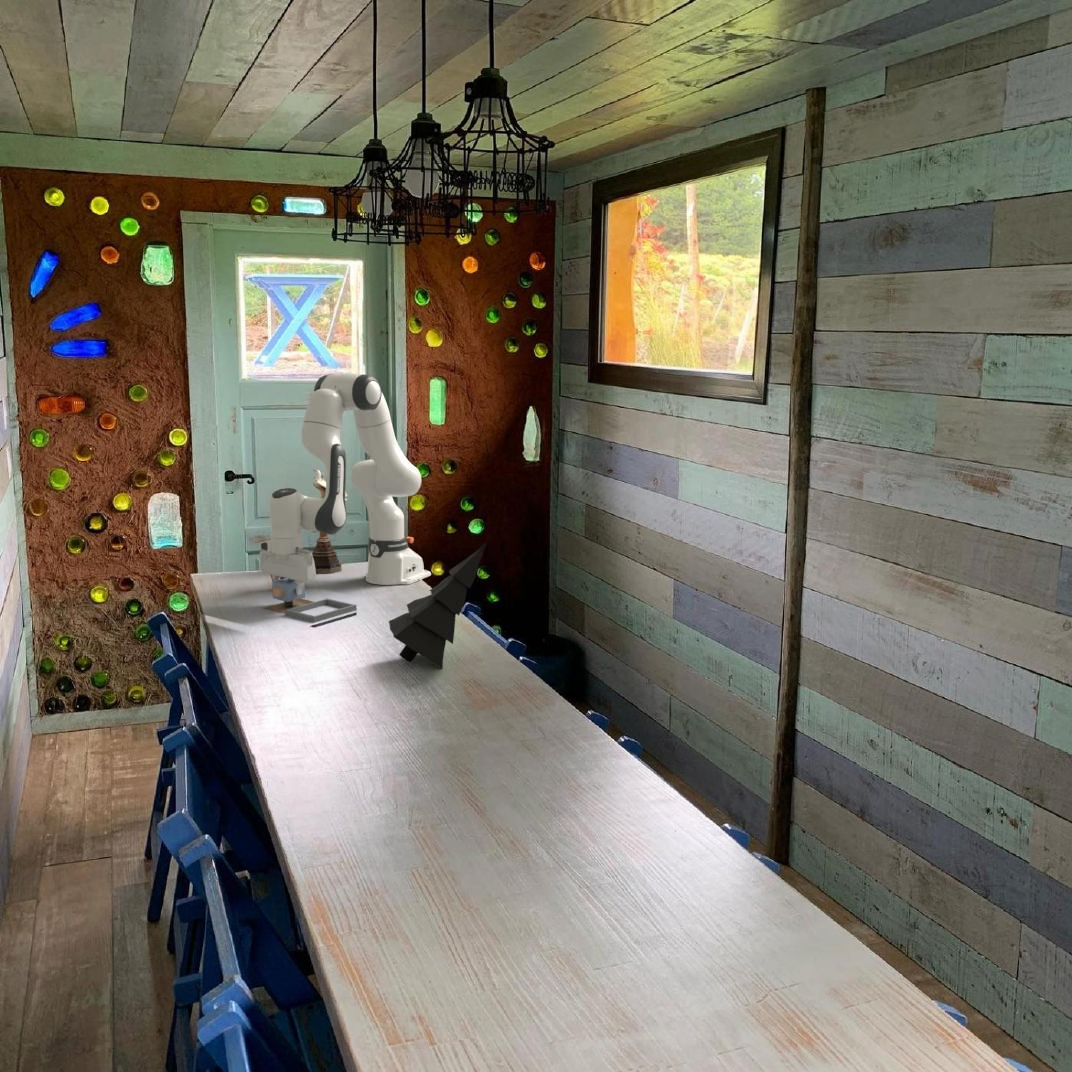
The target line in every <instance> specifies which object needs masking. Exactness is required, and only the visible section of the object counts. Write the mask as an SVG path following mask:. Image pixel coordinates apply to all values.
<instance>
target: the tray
mask: <svg viewBox="0 0 1072 1072" xmlns="http://www.w3.org/2000/svg"><path fill="white" fill-rule="evenodd" d="M324 606H331V607H335V608H338V609H333V610H331V611H327V612H324V613H321V614H320V613H319V614H317V615H312V614H308V613H304V612H306V611H309V610H312V609H316V608H319V607H324ZM355 611H357V604H353V603H349V602H344V601H340V600H337V599H330V598H324V599H321V600H317V601H313V603H309V604H305V605H302V606H298V607H294V608H291V609H287V610H285V614H284V616H287V617H290V618H295V619H299V620H303V621H308V622H311V623H316V624H312V625H310V627H311V628H318V627H321V626H325V625H328V624H329V625H330V624H331V623H334V622H338V621H341V620H346V619H349V618H352V617H355V616H357V615H358V614H357V612H355ZM352 612H353V613H352ZM348 613H349V614H348ZM345 614H346V615H345ZM339 616H340V617H339ZM335 617H336V618H335ZM328 619H330V620H328ZM325 620H326V621H325ZM321 621H323V622H321Z"/></svg>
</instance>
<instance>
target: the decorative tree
mask: <svg viewBox="0 0 1072 1072" xmlns="http://www.w3.org/2000/svg"><path fill="white" fill-rule="evenodd" d="M486 546H487V542H485V543H483V545H481V546H480V547H479V548H478V549H477V550H475V552H473V553H472V554H471V555H469V556H468V557H467V558H465V559H463V560H462V561H460V562H459V563H458V564H456V565H455V566H453V567H452V568H451V569H449V570H448V572H449V575H448V576H446V577H445V578H444V579H443V580H441V581H440V582H439V583H438V584H437V585H436V586H434V587H431V589H429V592H430V594H429V595H427V596H425V597H420V598H417V599H413V600H412V601H411V602H409V603H407V604H406V607H407V610H408V612H406V613H403V614H402V615H400V616H397V617H395V618H393V619H390V620H389V621H388V624H389V630H390V632H391V633H392V635H393V638H394V639H396V640H397V641H399V642H400V643H402V644H403V645H405V646H403V648H402V649H401V651H400V652H399V656H400V657H401V658H402V659H404V661H407V662H409V663H413V661H414V660H415V658H416V657H417V655H420V656H421V657H422V658H424V659H425V660H427V661H429V662H431V663H432V664H433V665H435V666H437V667H438V668H440V669H442V670H443V666H444V665H443V664H444V656H445V655H444V654H445V648H446V644H447V642H449V643H450V644H452V645H453V644H454V638H455V629H456V628H455V627H456V615H457V616H460V614H461V612H462V610H463V607H464V604H465V600H466V597H467V590H468V589H471V587H472V586H473V583H474V581H475V579H476V575H477V572H478V568H479V566H480V562H481V560H482V557H483V555H484V551H485V549H486Z"/></svg>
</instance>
